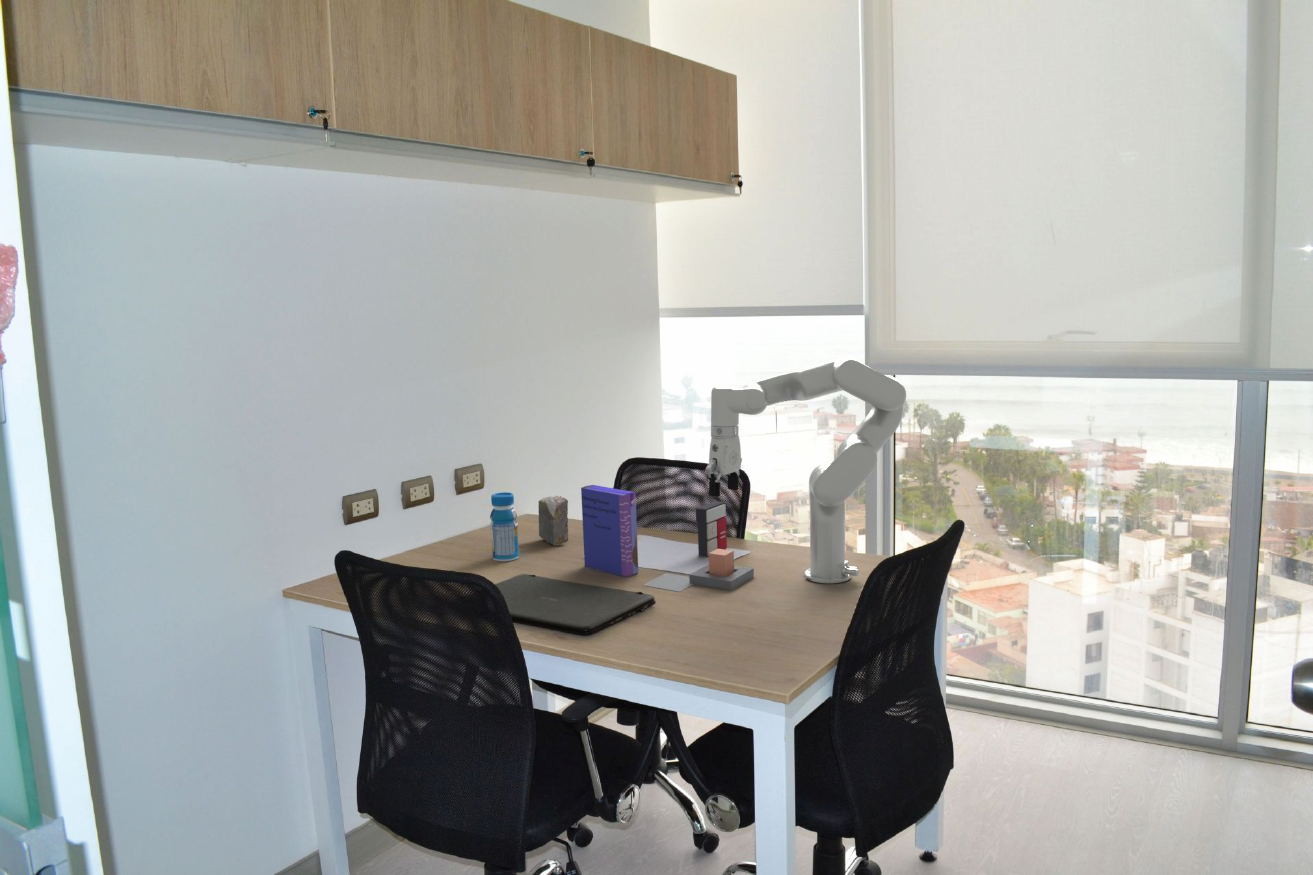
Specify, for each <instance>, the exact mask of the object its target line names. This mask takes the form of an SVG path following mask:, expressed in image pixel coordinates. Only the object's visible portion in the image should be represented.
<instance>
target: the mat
mask: <svg viewBox="0 0 1313 875" xmlns="http://www.w3.org/2000/svg"><path fill="white" fill-rule="evenodd" d="M694 585H695V584H693V583H690V581H689V576H686V575H679V574H673V573H669V572H668V573H667V572H666V573H664V574H661V575H659V576H658V577H655V578H653V579H651V580H649V581H648V582H646V583H644V584H642V586H643V587H648V588H655V589H660V590H666V591H672V592H678V593H681V592H683V591H684V590H687V589H688V588H690V587H692V586H694Z"/></svg>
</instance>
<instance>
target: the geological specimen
mask: <svg viewBox="0 0 1313 875" xmlns="http://www.w3.org/2000/svg"><path fill="white" fill-rule="evenodd" d="M568 507H569V501H568V499H567V498H565V497H562V496H561V495H560V496H559V495H555V496H546V497H542V498H541V499H539V500H538V536H539V537H540V539H541V540H544V541H546V543H548V544H551V545H552V546H560V545H562V544H566V543H567V542H569V524H568V523H569V518H568V514H569V513H568V512H569V511H568V509H569V508H568Z"/></svg>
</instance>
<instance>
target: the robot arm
mask: <svg viewBox="0 0 1313 875" xmlns="http://www.w3.org/2000/svg"><path fill="white" fill-rule="evenodd" d="M841 391H844V392H846V393H847V394H850V395H851V396H853V397H855V398H857V399H859V400H861V401H863V402H865V403H867V404H870V405H871V407H870V410H869V412H868V413H867V415H866V416H865V418H864V419H863V420H862V421H861V422H860V423H859V424H858V426H857V427H856V428H855V429H854V430H853V431H852V432H851V433H850V434H849V435H848V436H847V437H846V438H845V439H844V440H843V441H842V442H841V443H840V444H839V446H838V448H837V453H836V454H837V456H836V457H835V459H834V460H832V462H831V463H821V464H820V465H818V466H816V467H814V469H813V470H812V471H811V473H810V475H809V477H808V478H809V479H808V493H809V555H810V556H809V558H810V559H809V568H808V569H806V570H805V571H804V577H805V578H806V579H807V580H808V581H810V582H814V583H819V584H838V583H844V582H847V581H848V580H850V579H852V578H851V577H858V576H859V573H860V570H859V567H857V566H850V565H849V560H846V500H848V498H849V497H850V496H851V495H852V494H853V493H854V492H855V491H856V490H857V489H858V488H859V487H860V486H861V485H862V484H863V482H865V480H867V479H868V478H869V476H870V475H871V474H872V473H873V471H874V470H875V467H876V465H877V463H878V462H877V461H878V457H877V453H878V452H879V451H881V449H882V448H883V447H884V445H885V444H886V443H887V442H888V441H889V440H890V438H891V437H892V436H893V435H894V434H895V432H896V431H897V430H898V428H899V426H900V423H901V420H902V416H903V413H904V412H903V411H904V404H905V402H906V399H907V390H906V388H905V386H904V385H903V383H902V382H900V381H899V380H898V379H897V378H896V377H893V376H892V375H889V374H888V375H887V374H884V373H882V372H880V371H878V370H876V369H873V368H872V367H870V366H868V365H866V364H865V363H862V362H861V361H859V360H858V359H856V358H855V357H853V356H843V357H839V358H836V359H832V360H829V361H825V362H821V363H818V364H815V365H811V366H807V367H804V368H801V369H797V370H794V371H790V372H787V373H783V374H779V375H775V376H771V377H767V378H764V379H760V380H758V381H753V382H751V383H748V384H746V385H744V386H743V388H738V387H736V386H733V385H717V386H714V387H713V388H712V389H711V392H710V393H711V394H710V396H711V397H710V398H711V399H710V400H711V401H710V444H709V452H708V453H709V455H708V464H707V466H706V467H705V473H706V477H707V481H708V495H709V496H711V497H717V498H719V497H721V482H720V479H721V477H722V475H723V476H726V475H727V490H731V491H738V490H739V476H740V474H741V473H740V471H741V468H742V462H743V461H742V460H743V458H742V452H741V442H740V440H741V439H740V435H739V429H740V428H739V422H740V420H739V419H740V416H739V414H743V415H749V416H757V415H759V414H762V413H763V412H764V411H765V410H766V408H767V407H768V406H772V405H775V404H779V403H784V402H788V401H799V402H800V401H801V402H802V401H804V402H805V401H809V400H814V399H818V398H821V397H823V396H827V395H830V394H835V393H839V392H841Z"/></svg>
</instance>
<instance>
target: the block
mask: <svg viewBox="0 0 1313 875" xmlns="http://www.w3.org/2000/svg"><path fill="white" fill-rule="evenodd" d="M734 553H735V551H734V550H730V549H726V550H724V549H716V550H714V551H712V552H710V553H709V556H708V564H709V574H714V575H720V576H726V577H727V576H729V575H730V574H732V573H734V565H735V554H734Z"/></svg>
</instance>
